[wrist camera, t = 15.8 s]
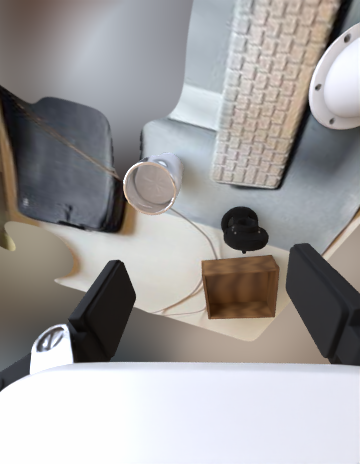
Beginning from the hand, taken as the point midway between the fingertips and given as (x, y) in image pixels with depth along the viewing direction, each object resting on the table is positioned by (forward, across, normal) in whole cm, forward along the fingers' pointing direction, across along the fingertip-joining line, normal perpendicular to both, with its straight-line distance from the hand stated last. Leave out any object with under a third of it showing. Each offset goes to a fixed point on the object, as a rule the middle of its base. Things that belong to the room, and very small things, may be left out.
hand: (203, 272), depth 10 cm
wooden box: (+28, -6, +28) cm, 40 cm away
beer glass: (+28, +6, -2) cm, 29 cm away
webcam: (+28, -7, +11) cm, 31 cm away
